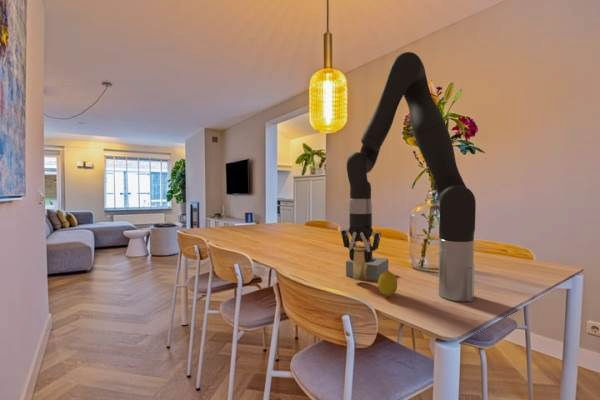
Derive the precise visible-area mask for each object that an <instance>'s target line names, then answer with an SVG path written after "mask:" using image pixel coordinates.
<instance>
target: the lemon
mask: <svg viewBox="0 0 600 400" xmlns="http://www.w3.org/2000/svg"><path fill="white" fill-rule="evenodd" d="M377 285H378V289H379V292H380V293H382V294H383V295H385V296H386V297H387V298H389V297H391V296H392V295H394V294H395V293H396V291H397V289H398V280H397V277H396V275H395V274H394V273H393V272H390V271H389V270H388V271H386V272H383V273H382V274H381V275H380V277H379V280H378V281H377Z"/></svg>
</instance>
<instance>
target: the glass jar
mask: <svg viewBox="0 0 600 400" xmlns="http://www.w3.org/2000/svg"><path fill="white" fill-rule="evenodd" d="M353 249H354V251H353V277H352V279H354V280H356V281H366V280H367V264H368V263H367V262H366V252H367V249H366V247H365V245H364V244H356V245H353Z"/></svg>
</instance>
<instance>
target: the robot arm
mask: <svg viewBox="0 0 600 400" xmlns="http://www.w3.org/2000/svg"><path fill="white" fill-rule="evenodd" d="M403 98H404V99H405V101H406V103H407V107H408V111H409V115H410V116H409V117H410V123H411V128H412V132H413V135H414V139H415V141H416V144H417V147H418V148H419V152H420V153H421V156H422V158H423V161H425V164H426V166H427V168H428V170H429V171H430V173H431V175H432V177H433V182H434V184H435V188H436V192H437V197H438V203H439V226H438V228H439V229H438V295H439V296H440V297H441V298H443V299H445V300H449V301H455V302H470V303H472V302H473V300H474V297H475V265H474V258H475V257H474V250H475V249H474V246H475V243H474V242H475V230H476V207H477V206H476V205H477V203H476V197H475V194H474V193H473V191H472V190H470V188H468V187H467V186H466V184H465V182H464V180H463V178H462V176H461V173H460V171H459V169H458V166H457V162H456V155H455V149H454V146H453V145H454V144H453V141H452V138H451V134H450V132H449V129H448V127H447V125H446V122H445V120H444V117H443V115H442V112H441V111H440V110H439V109H440V108H438V106H437V103H436V102H435V101H434V99H433V96H432V93H431V90H430V87H429V82H428V79H427V74H426V68H425V65H424V63H423V61H422V59H421V58H420V56H418V55H417V54H416V53H414V52H412V51H405V52H403V53H401V54H399V55H398V56H397V57H395V59H394V60H393V62H392V64H391V66H390V70H389V73H388V75H387V79H386V82H385V84H384V87H383V90H382V93H381V96H380V97H379V100H378V103H377V105H376V108H375V110H374V112H373V114H372V116H371V118H370V120H369V122H368V124H367V126H366V128H365V130H364V132H363V134H362V137H361V139H360V142H361V144H362V145H361V147H360V151H359V152H353V153H352V154H350V155H349V156H348V158H347V160H346V161H347V162H346V172H347V174H346V175H347V178H348V182H349V183H348V184H349V188H350V189H349V205H348V206H349V207H348V211H349V217H348V218H349V222H348V225H349V228H348V229H343V230H341V231H340V233H341V239H342V242H343V246H344V248H346V249H348V250H349V252H348V253H349V260H350V259H351V261H353V251H354V249H353V245H357V243H358V242H361V243H363V245H365V247H366V249H367V252H366V262H367V263H369V262H371V261H372V257H373V252H375V251H376V250H378V249H379V245H380V241H381V237H382V233H381V232H380V231H379V232H376V231H374V230H373V204H372V185H371V183H370V182H369V181H368V174H369V173H370V172H371V171H372V170H373V169H374V167H375V165H376V163H377V159H378V157H379V154H380V150H381V147H382V146H383V144H384V142H385V140H386V138H387V136H388V135H389V132H390V131H391V130H390V129H391V128H392V125H393V122H394V120H395V116H396V112H397V110H398V107H399V105H400V103H401V100H402V99H403ZM349 236H351V238H350V237H349ZM371 237H372V238H373V241H371V239H370V238H371Z"/></svg>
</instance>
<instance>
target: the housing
mask: <svg viewBox="0 0 600 400" xmlns="http://www.w3.org/2000/svg"><path fill="white" fill-rule="evenodd" d="M386 271H389V258H386V257H378V256H372V261H371V262H369V263H368V264H367V279H366V280H369V281H374V282H378V280H379V277H380V275H381V274H382V273H383V272H386ZM345 276H346V277H348V278H353V261H351V259H350V258H349V259H348V260H346V261H345Z"/></svg>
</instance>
